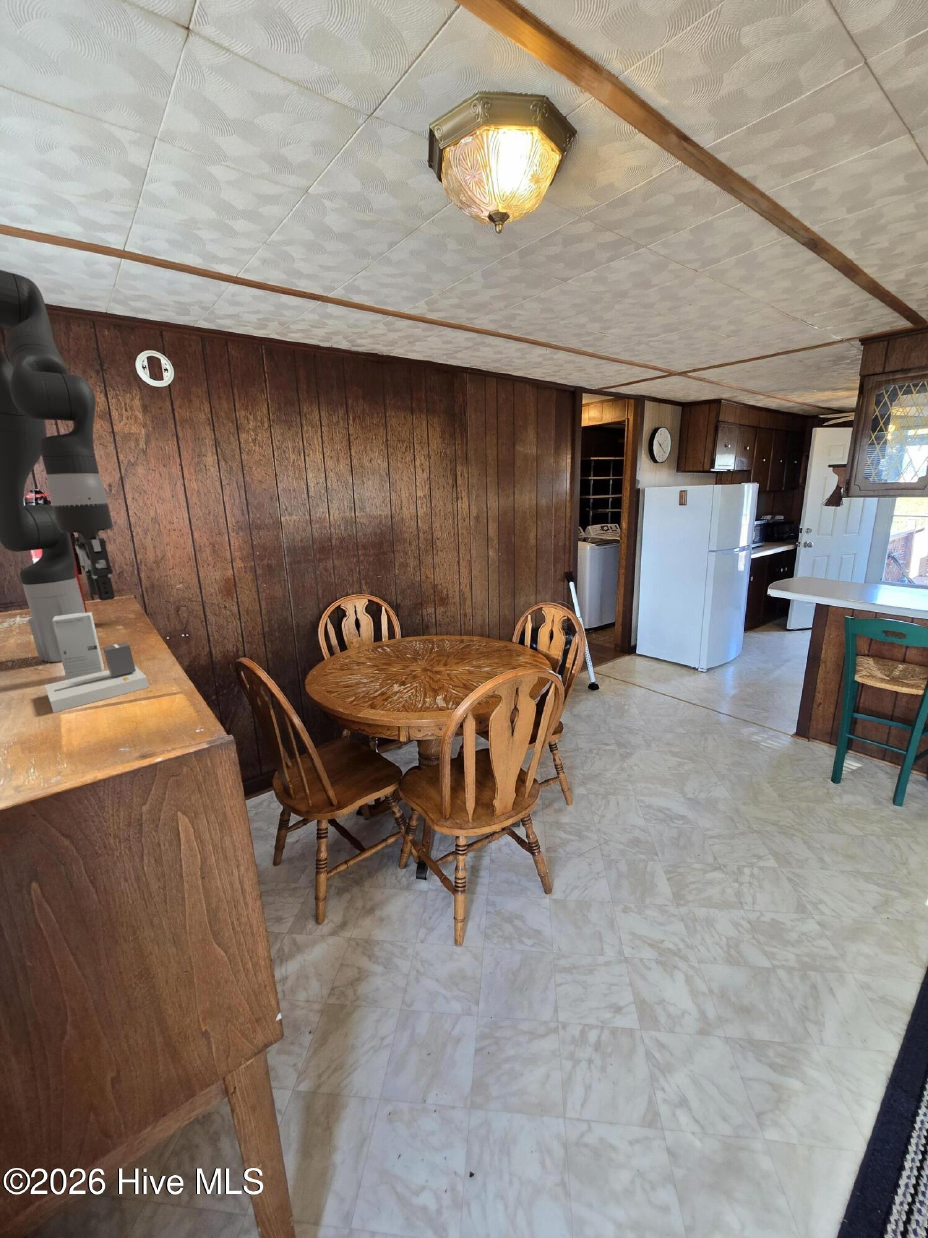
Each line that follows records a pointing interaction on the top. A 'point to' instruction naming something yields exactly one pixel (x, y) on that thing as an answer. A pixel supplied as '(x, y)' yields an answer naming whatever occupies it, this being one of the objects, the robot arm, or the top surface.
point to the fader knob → (119, 659)
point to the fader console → (93, 688)
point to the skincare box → (78, 644)
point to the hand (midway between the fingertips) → (103, 596)
